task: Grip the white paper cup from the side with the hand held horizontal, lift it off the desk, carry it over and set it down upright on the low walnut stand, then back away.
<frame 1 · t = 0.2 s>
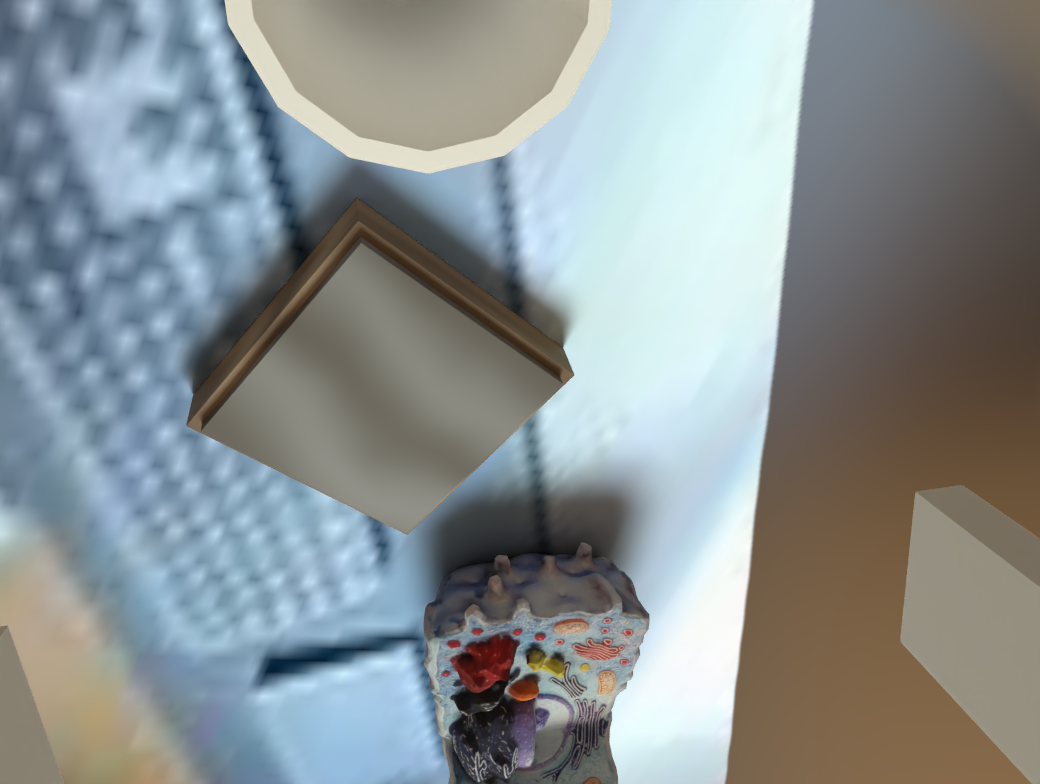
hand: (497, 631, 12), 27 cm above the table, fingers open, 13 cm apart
stand: (383, 371, 41), on the table
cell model: (519, 623, 55), on the table
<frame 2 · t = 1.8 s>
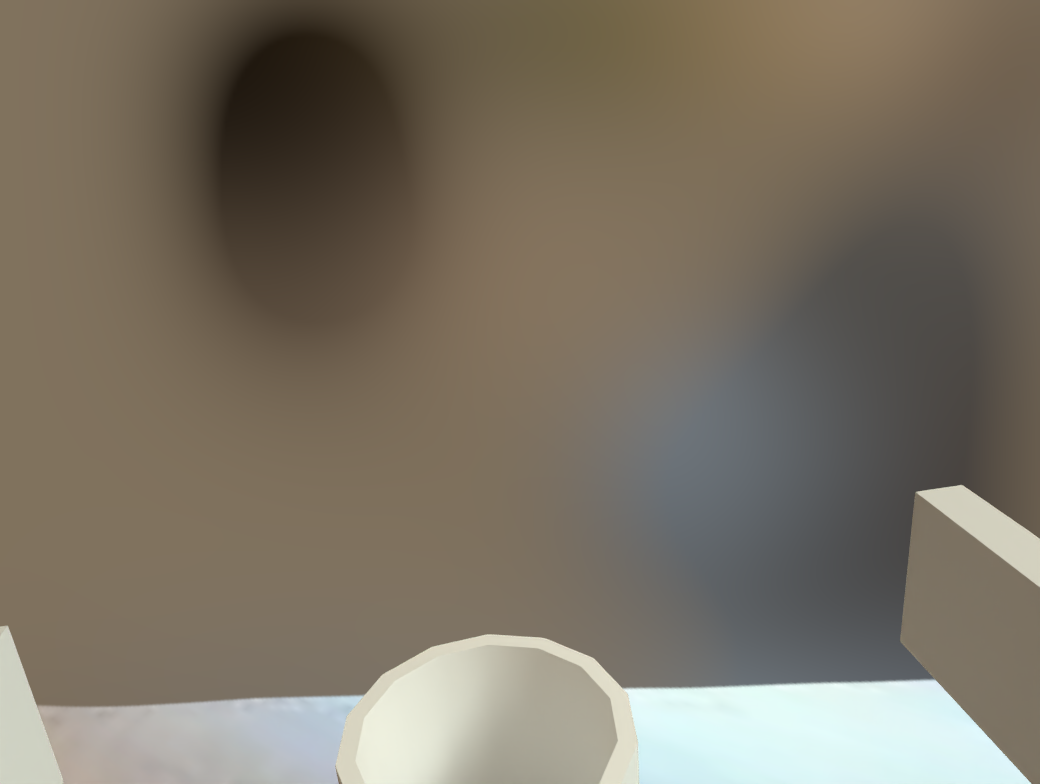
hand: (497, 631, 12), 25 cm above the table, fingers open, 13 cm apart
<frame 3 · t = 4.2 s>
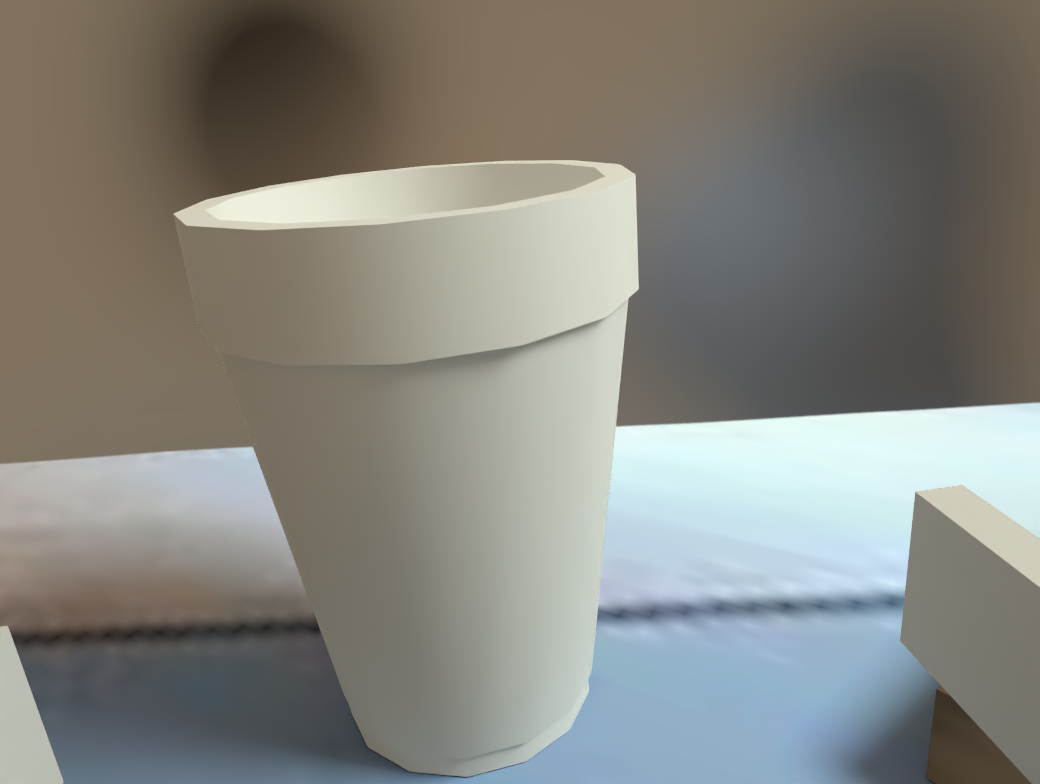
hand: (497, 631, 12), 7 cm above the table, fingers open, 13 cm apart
foam cup: (471, 689, 22), on the table
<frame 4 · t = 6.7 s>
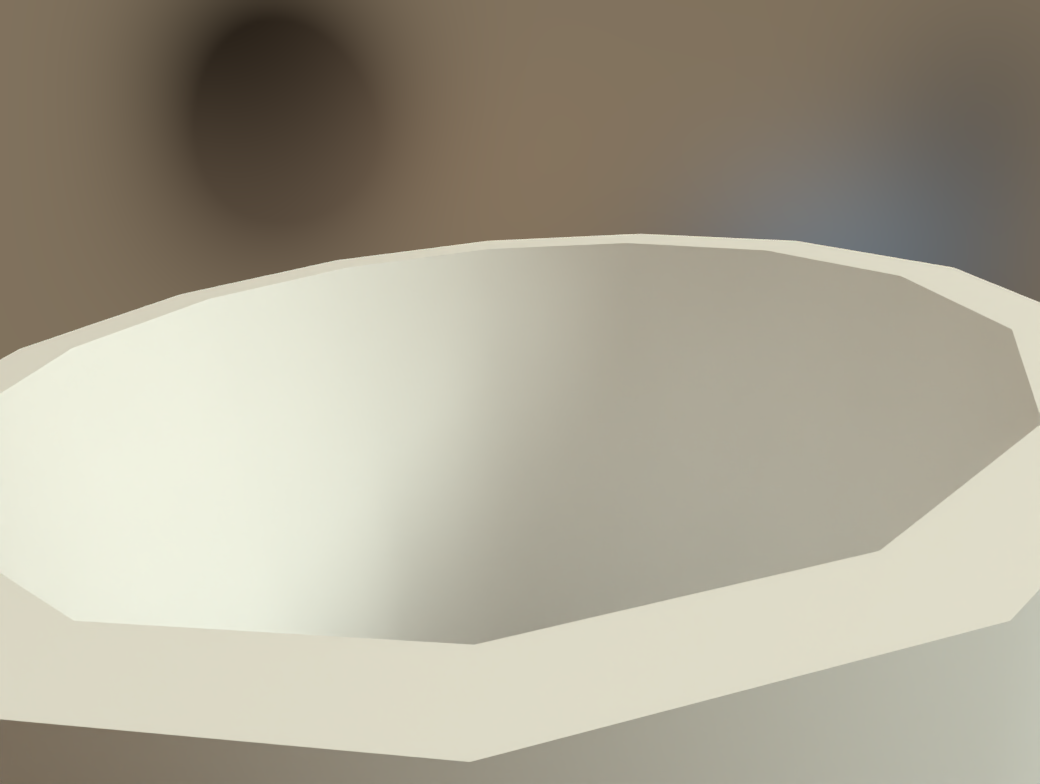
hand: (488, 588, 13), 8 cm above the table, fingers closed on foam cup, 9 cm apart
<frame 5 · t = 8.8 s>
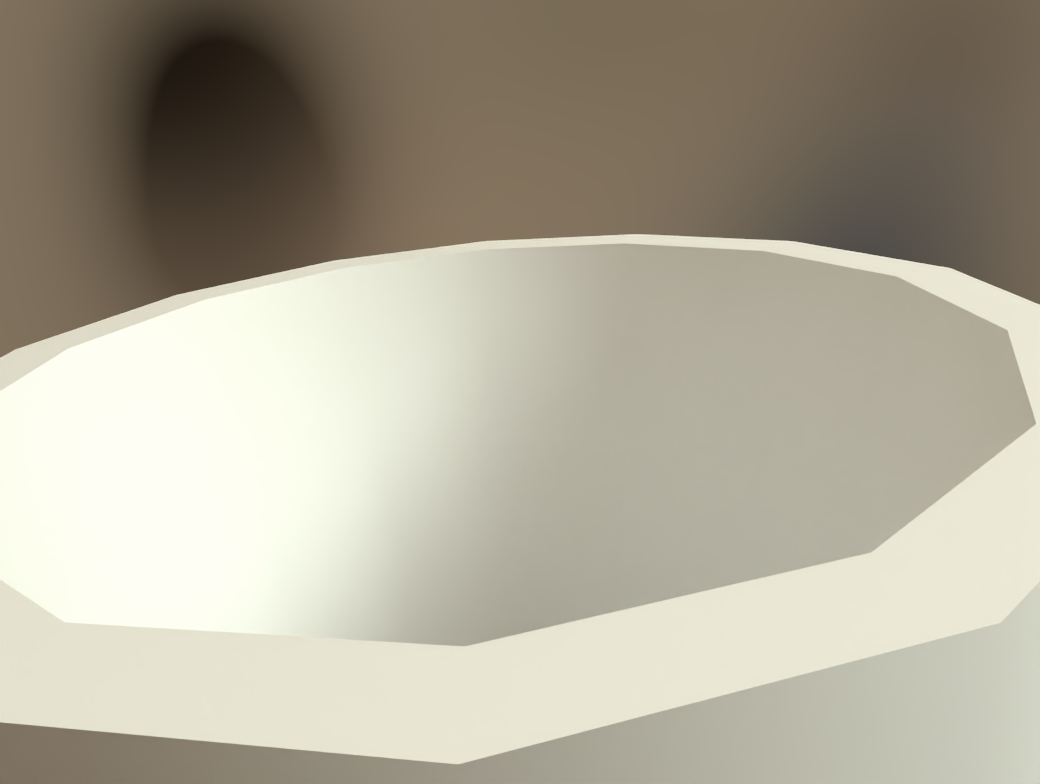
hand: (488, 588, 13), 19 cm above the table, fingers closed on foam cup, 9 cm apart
when the fingers open (12 cm above the table, at t = 11.2 s): foam cup drops 1 cm, resting on stand.
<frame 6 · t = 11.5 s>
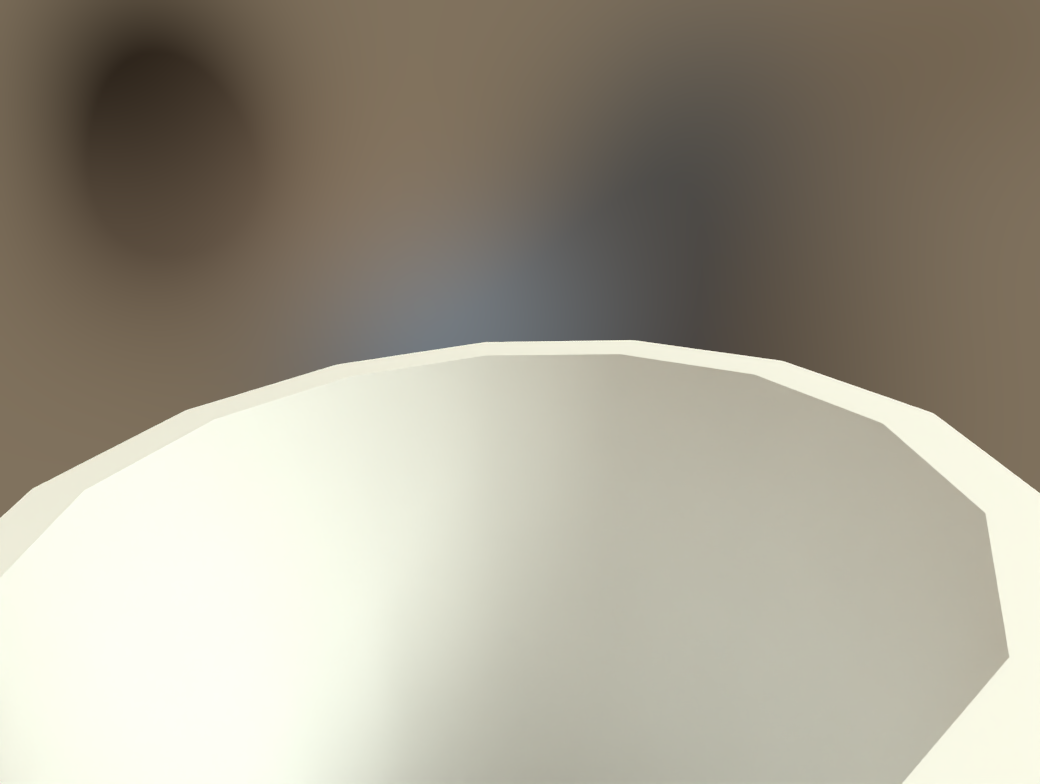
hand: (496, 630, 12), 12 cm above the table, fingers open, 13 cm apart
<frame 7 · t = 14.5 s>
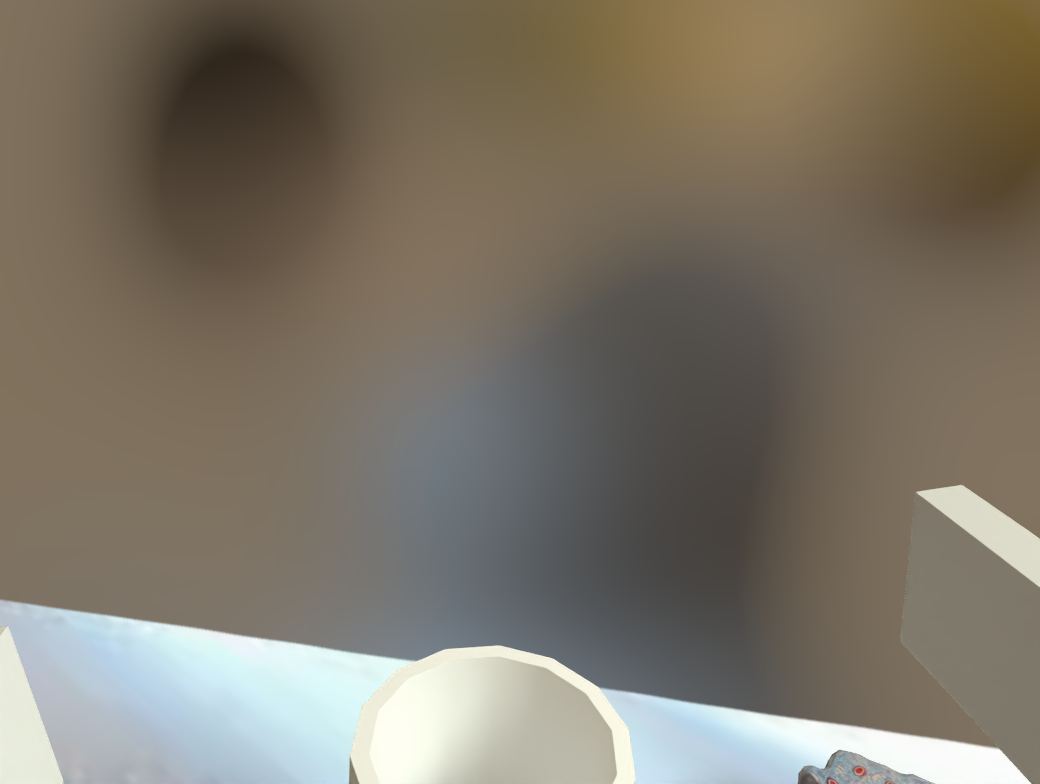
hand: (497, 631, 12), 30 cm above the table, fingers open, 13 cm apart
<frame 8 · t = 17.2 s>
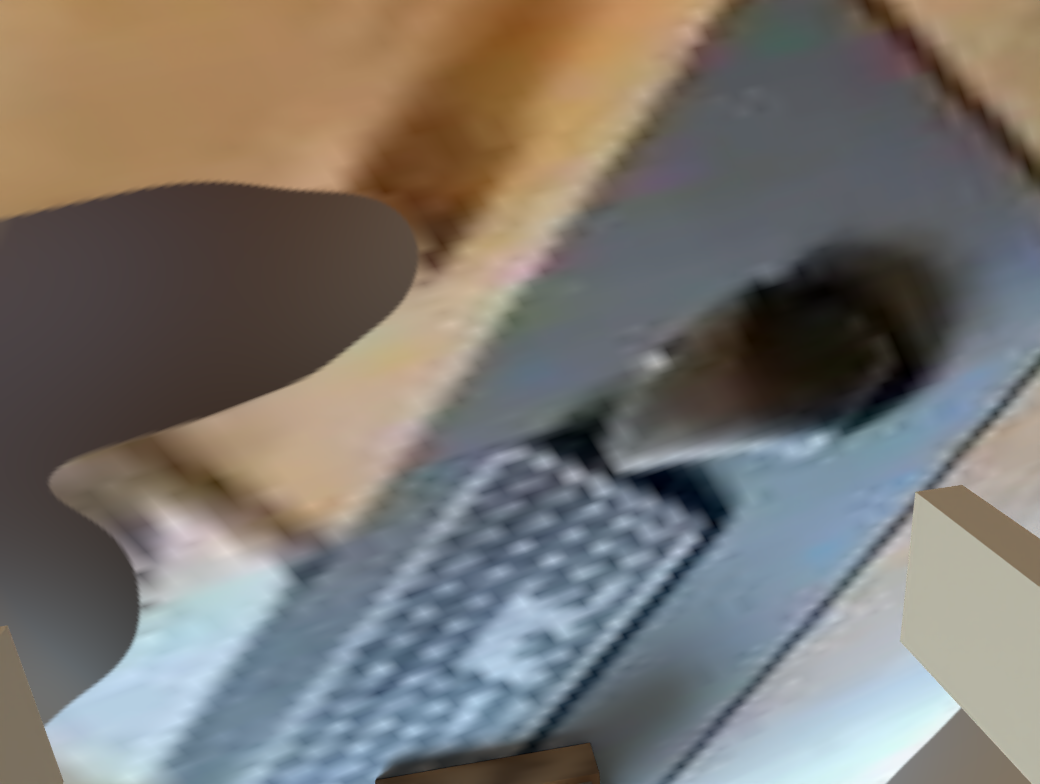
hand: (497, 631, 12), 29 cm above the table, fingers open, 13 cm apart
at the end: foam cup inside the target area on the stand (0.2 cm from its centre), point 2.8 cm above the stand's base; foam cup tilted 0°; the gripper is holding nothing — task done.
